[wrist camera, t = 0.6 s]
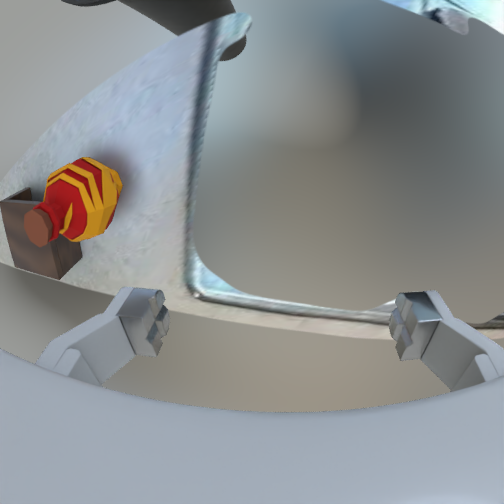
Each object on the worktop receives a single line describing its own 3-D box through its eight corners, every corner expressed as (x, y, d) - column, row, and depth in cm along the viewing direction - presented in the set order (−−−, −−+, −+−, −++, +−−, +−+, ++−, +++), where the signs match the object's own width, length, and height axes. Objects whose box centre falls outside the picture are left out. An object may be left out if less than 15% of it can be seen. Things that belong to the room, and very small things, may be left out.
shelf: (26, 187, 35) (-1, 201, 29) (72, 188, 35) (43, 205, 29) (37, 248, 41) (15, 267, 35) (82, 257, 41) (59, 280, 35)
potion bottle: (111, 231, 38) (51, 288, 25) (70, 183, 35) (-1, 223, 22) (153, 186, 34) (89, 235, 21) (106, 132, 31) (26, 155, 18)
